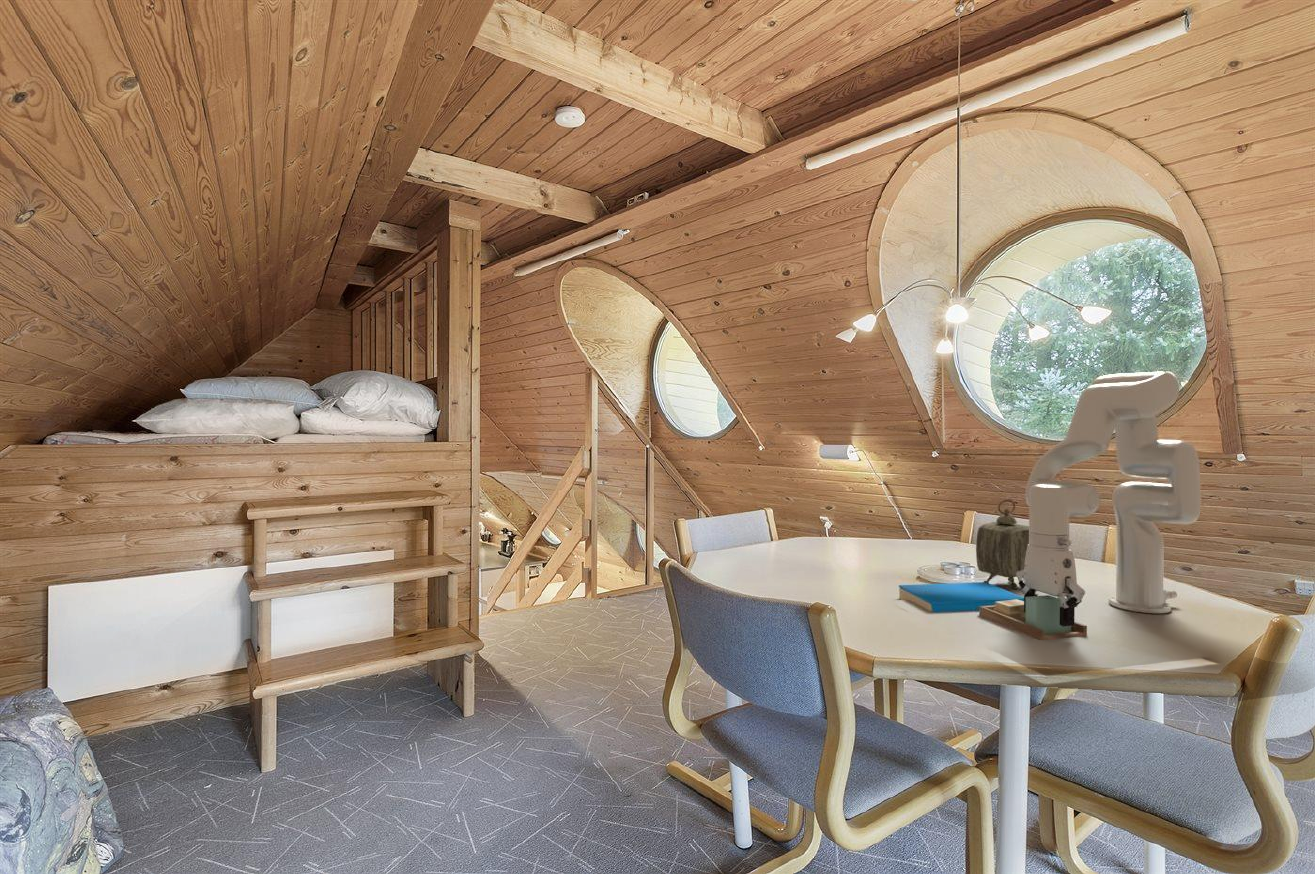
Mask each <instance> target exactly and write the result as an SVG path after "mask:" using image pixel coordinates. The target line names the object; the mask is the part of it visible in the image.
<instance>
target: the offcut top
mask: <svg viewBox="0 0 1315 874" xmlns="http://www.w3.org/2000/svg"><path fill="white" fill-rule="evenodd" d="M995 609H996V610H999V611H1002V612H1004V613H1007V614H1017V613H1025V612H1024V601H1021V600H1018V599H1015V600H1006V601H997V602H995Z"/></svg>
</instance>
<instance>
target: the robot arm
mask: <svg viewBox="0 0 1315 874" xmlns="http://www.w3.org/2000/svg"><path fill="white" fill-rule="evenodd" d="M1179 393H1180V385H1179V381H1178V379H1177V378H1176V376H1175V375H1173V374H1172V373H1170V372H1167V371H1152V372H1151V371H1150V372H1149V371H1148V372H1134V373H1133V372H1131V373H1130V372H1129V373H1126V372H1125V373H1115V374H1114V373H1113V374H1107V375H1102V376H1101V375H1100V376H1099V377H1097V378H1095V379H1093V380H1092V383H1091V385H1090V386H1088V387H1086V388H1085V389H1084V390H1082V392H1081V394H1080V395H1079V398H1078V401H1077V404H1076V406H1075V410H1074V412H1073V415H1072V417H1071V421H1070V424H1069V427H1068V430H1067V432H1066V435H1065V437H1064V439H1063V440H1061V441H1060V442H1058V443H1057V444H1055V445H1054V446H1052V447H1051V448H1049V450H1047V451H1046V452H1045V453H1044V454H1043V455H1042V456H1041V457H1040V458H1039V459H1038V460H1037V461H1036V462H1035V464H1034V465H1033V467H1032V470H1031V472H1030V475H1029V478H1028V480H1027V483H1026V487H1025V488H1026V489H1025V493H1024V496H1025V497H1024V499H1025V502H1026V505H1027V506H1028V527H1029V544H1028V546H1027V551H1026V557H1025V567H1024V569H1023V570H1021V571H1018V572H1016V576H1017V577H1016V578H1017V581H1018V585H1019V587H1020V589H1021V593H1022V595H1023V598H1024V612H1025V613H1026V597H1032V596H1039V595H1038V594H1037V592H1041V593H1043V594H1046V595H1052V596H1057V597H1058V599H1059V601H1060V603H1061V605H1062V606H1063V607H1060V625H1061V626H1073V625H1074V621H1075V609H1076V608H1078V606H1079V605H1080V603H1082V601H1083V598H1084V596H1085V594H1086V590H1084V588H1083V587H1081V586H1080V585H1079V584H1078V582H1077V581H1078V580H1077V570H1076V569H1077V567H1076V560H1075V556H1074V552H1073V550H1072V549H1070V547H1071V546H1072V541H1071V540H1070V517H1080V518H1081V517H1083V518H1084V517H1088V516H1091V515H1092V514H1094V513H1095V512H1096V511H1097V510H1098V509H1099V507H1100V504H1101V497H1100V493H1099V491H1098V490H1097V489H1096V488H1095V487H1094V486H1092V485H1091V484H1088V483H1084V482H1076V481H1075V482H1074V481H1065V480H1064V481H1063V480H1054V478H1055V477H1056V476H1057V474H1059V473H1060V472H1061V471H1063V470H1064V469H1066V468H1068V467H1071V466H1073V465H1074V464H1078V463H1081V462H1085V461H1086V460H1089V459H1093V458H1096V457H1098V456H1100V455H1103V454H1105V453H1106V451H1108V449H1109V447H1110V443H1111V439H1112V437H1113V434H1114V433H1115V434H1114V435H1115V450H1116V461H1117V467H1118V470H1119V472H1120V473H1121V474H1123V475H1124V476H1127V477H1134V478H1143V479H1144V478H1145V479H1158V480H1159V479H1160V480H1168V481H1169V483H1158V482H1146V481H1127V482H1122V483H1120V484H1118V485H1117V486H1115V488H1114V489H1113V492H1112V496H1111V502H1112V506H1113V511H1114V516H1115V525H1116V558H1115V559H1116V561H1115V562H1116V574H1115V582H1116V585H1115V586H1116V587H1115V595H1112V596H1110V597H1108V603H1109V604H1110V605H1112V606H1113V607H1116V608H1118V609H1122V610H1125V611H1126V610H1127V611H1130V612H1136V613H1137V612H1138V613H1144V614H1166V613H1170V612H1171V611H1172V606H1171V604H1169V603H1167V602H1166V601H1167V600H1168V599H1176V598H1177V597H1178V593H1177V591H1175V590H1166V589H1164V570H1165V569H1164V565H1165V564H1164V559H1165V558H1164V556H1165V554H1164V551H1165V543H1164V542H1165V541H1164V540H1165V539H1164V536H1163V535H1162V533H1161V531H1160V530H1159V528H1158V527H1157V525H1155V523H1154V522H1156V523H1167V524H1174V525H1175V524H1176V525H1191V524H1193V523H1196V521H1197V520H1198V519H1199V517H1200V514H1201V510H1202V492H1201V491H1202V490H1201V474H1200V473H1201V472H1200V460H1199V455H1198V452H1197V450H1196V447H1195V446H1193V444H1191V443H1190V442H1188V441H1186V440H1181V439H1180V440H1179V439H1161V438H1160V437H1159V435H1158V434H1159V431H1158V421H1157V417H1156V415H1157V414H1160V413H1161V412H1163V411H1165V410H1167V409H1168V408H1170V407H1171V406H1172V405H1174V404H1175V402H1176V401H1177V400H1178V397H1179ZM1065 597H1067V599H1068V601H1066V599H1065Z"/></svg>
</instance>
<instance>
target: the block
mask: <svg viewBox="0 0 1315 874" xmlns="http://www.w3.org/2000/svg"><path fill="white" fill-rule="evenodd" d="M1065 599H1066V601H1068V599H1067V597H1065ZM1060 607H1063V606H1062V605H1061V603H1060V601H1059V599H1058V597H1057V596H1052V595H1049V594H1046V595H1038V596H1032V597H1026V623H1027V624H1029V625H1032V626H1034V627H1037V628H1039V629H1042V630H1043V635H1044V634H1054V633H1065V632H1071V626H1061V625H1060Z"/></svg>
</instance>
